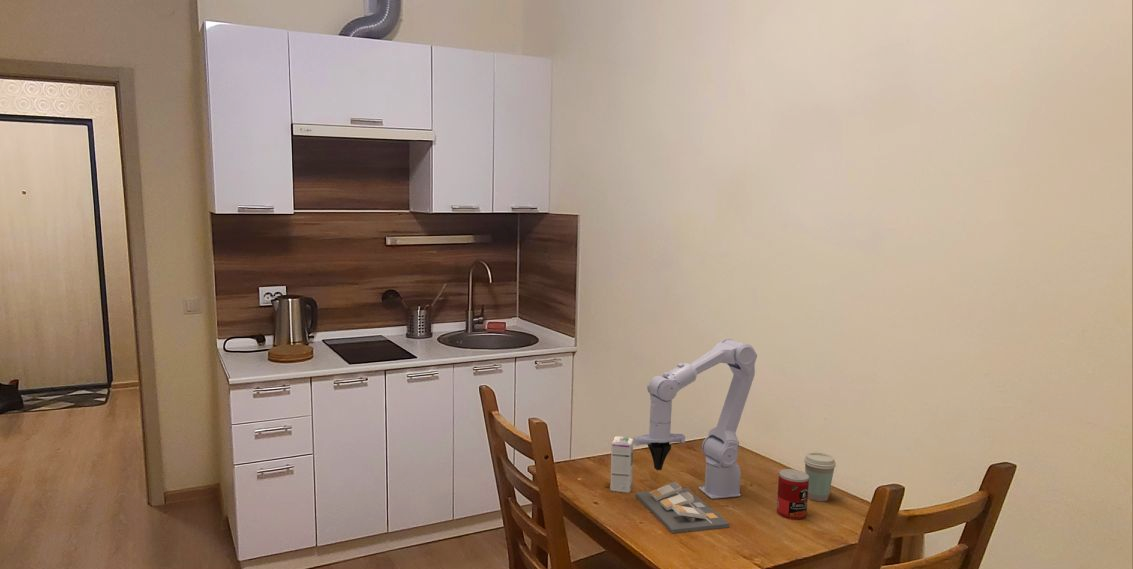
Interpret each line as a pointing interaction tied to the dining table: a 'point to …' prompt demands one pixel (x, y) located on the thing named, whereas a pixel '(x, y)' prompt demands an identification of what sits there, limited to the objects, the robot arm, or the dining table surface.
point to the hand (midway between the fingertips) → (657, 468)
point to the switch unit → (680, 522)
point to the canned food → (792, 493)
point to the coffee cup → (819, 475)
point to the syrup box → (621, 464)
